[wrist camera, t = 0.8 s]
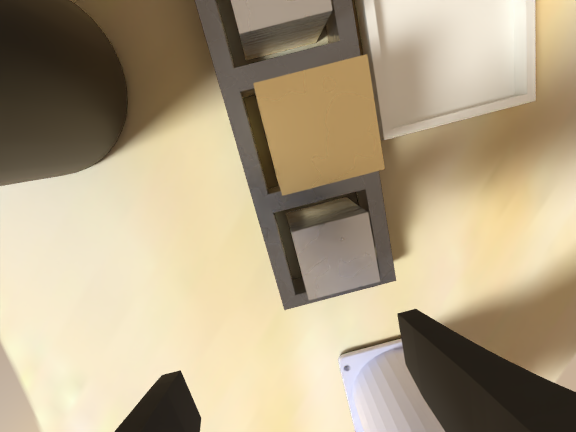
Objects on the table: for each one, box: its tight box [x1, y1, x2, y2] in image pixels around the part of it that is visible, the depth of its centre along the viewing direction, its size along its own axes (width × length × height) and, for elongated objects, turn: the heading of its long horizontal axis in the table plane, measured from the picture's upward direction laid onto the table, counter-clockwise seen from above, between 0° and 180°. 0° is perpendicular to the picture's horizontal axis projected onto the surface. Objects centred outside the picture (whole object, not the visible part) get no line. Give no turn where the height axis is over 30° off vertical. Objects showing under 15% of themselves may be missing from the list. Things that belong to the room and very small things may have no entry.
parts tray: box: [355, 0, 536, 140], centre depth 15 cm, size 9×9×1 cm
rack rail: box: [195, 0, 396, 310], centre depth 15 cm, size 20×7×4 cm, turn 14°
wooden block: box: [253, 54, 385, 196], centre depth 13 cm, size 4×4×7 cm
